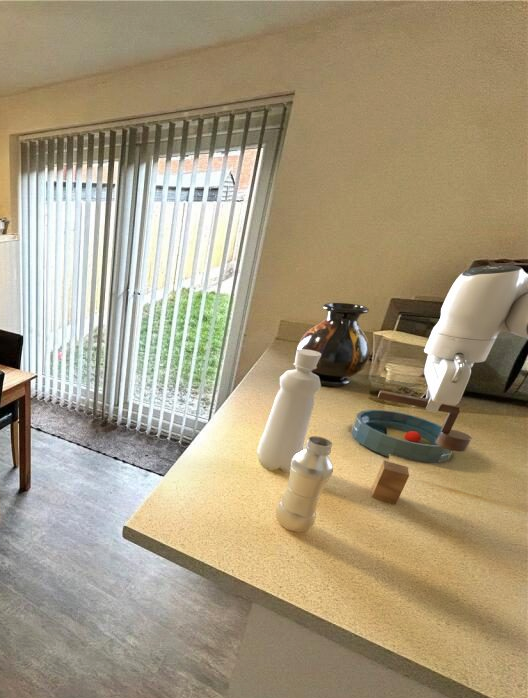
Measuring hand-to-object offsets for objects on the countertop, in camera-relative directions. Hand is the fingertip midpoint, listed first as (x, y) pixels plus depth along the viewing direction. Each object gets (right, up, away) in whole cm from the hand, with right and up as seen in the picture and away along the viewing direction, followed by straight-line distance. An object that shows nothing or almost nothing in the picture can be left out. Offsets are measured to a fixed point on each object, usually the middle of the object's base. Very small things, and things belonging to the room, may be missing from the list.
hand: (429, 408), depth 85 cm
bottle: (-25, -15, +14) cm, 32 cm away
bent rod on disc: (0, -7, +3) cm, 8 cm away
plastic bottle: (-34, -24, -5) cm, 42 cm away
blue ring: (+13, -11, +21) cm, 27 cm away
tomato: (+17, -9, +20) cm, 28 cm away
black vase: (+26, +7, +63) cm, 68 cm away
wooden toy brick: (-8, -20, +2) cm, 22 cm away
